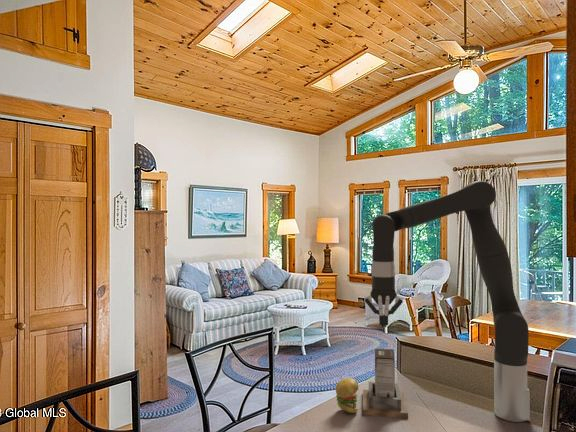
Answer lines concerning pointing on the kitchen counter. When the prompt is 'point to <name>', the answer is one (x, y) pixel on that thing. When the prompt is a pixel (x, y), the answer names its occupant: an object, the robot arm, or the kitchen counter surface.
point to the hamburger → (347, 394)
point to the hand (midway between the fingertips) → (383, 326)
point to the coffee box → (384, 373)
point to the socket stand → (384, 403)
